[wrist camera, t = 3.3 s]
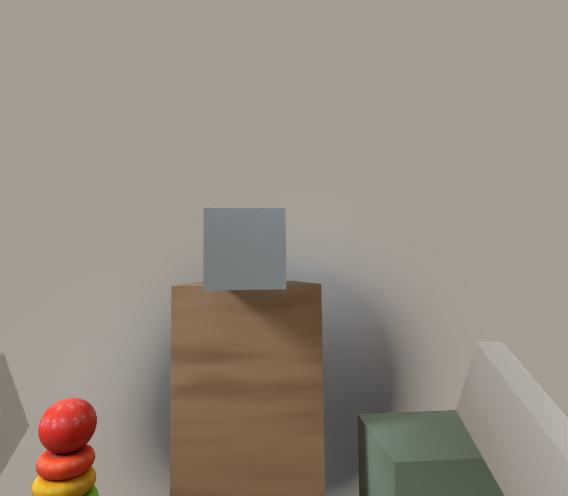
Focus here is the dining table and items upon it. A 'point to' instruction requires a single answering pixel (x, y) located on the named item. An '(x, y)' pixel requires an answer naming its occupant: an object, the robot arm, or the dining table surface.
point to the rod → (244, 249)
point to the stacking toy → (66, 450)
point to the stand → (247, 392)
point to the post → (420, 456)
